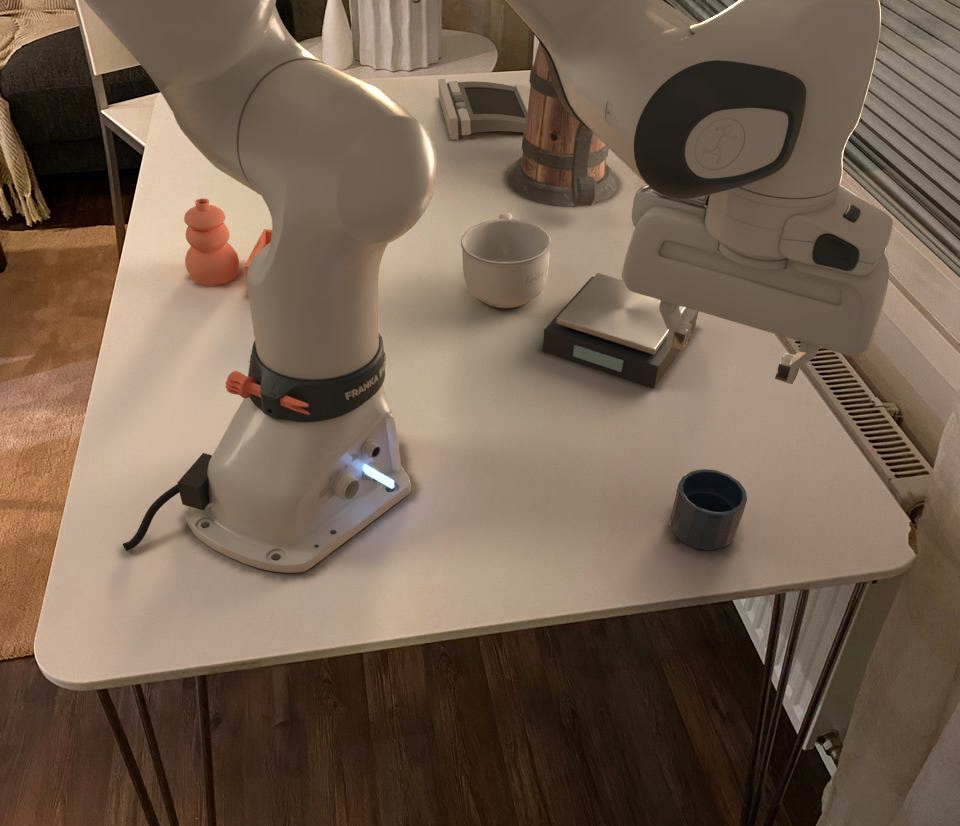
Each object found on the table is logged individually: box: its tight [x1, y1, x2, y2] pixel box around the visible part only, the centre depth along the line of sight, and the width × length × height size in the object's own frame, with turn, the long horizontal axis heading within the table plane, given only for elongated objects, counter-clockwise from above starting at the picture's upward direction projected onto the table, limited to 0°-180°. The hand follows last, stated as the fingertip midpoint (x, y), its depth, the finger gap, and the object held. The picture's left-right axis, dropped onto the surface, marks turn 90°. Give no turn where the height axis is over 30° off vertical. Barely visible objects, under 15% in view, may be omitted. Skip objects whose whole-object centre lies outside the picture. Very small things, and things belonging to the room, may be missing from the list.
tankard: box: [505, 41, 618, 207], centre depth 137 cm, size 24×17×20 cm
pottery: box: [183, 197, 272, 298], centre depth 119 cm, size 18×10×10 cm, turn 85°
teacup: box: [460, 212, 552, 309], centre depth 120 cm, size 14×11×8 cm
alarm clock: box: [437, 78, 530, 141], centre depth 162 cm, size 17×5×16 cm
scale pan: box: [556, 272, 687, 355], centre depth 113 cm, size 12×12×1 cm
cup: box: [669, 468, 748, 551], centre depth 90 cm, size 6×6×5 cm
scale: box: [541, 276, 699, 389], centre depth 114 cm, size 14×14×3 cm
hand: (730, 361), depth 81 cm, fingers open, 8 cm apart
